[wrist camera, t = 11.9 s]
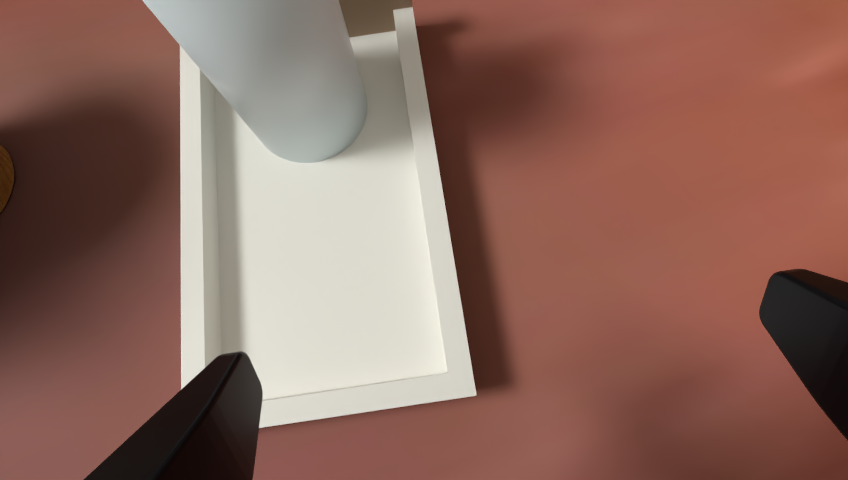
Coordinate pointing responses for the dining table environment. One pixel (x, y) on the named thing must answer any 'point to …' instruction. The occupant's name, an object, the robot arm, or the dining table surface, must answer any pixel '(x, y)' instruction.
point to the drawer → (324, 245)
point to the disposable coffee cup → (5, 177)
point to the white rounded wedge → (277, 68)
